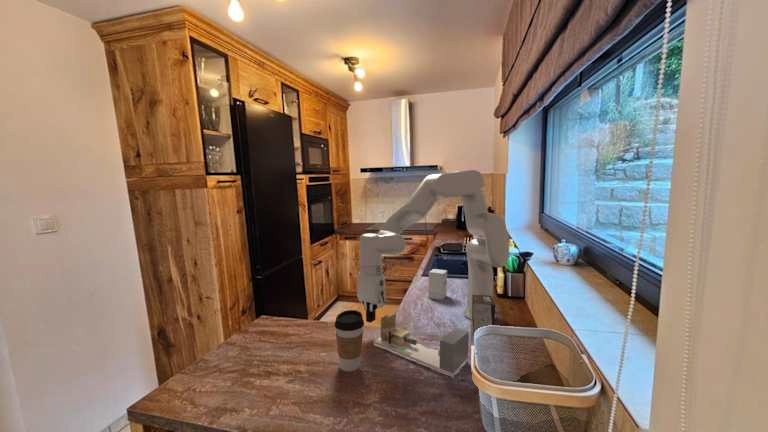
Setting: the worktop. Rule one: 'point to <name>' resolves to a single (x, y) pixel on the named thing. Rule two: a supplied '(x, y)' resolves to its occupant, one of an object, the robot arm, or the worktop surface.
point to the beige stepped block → (394, 331)
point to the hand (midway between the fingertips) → (370, 320)
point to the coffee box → (482, 312)
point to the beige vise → (436, 351)
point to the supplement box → (437, 284)
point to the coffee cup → (349, 339)
